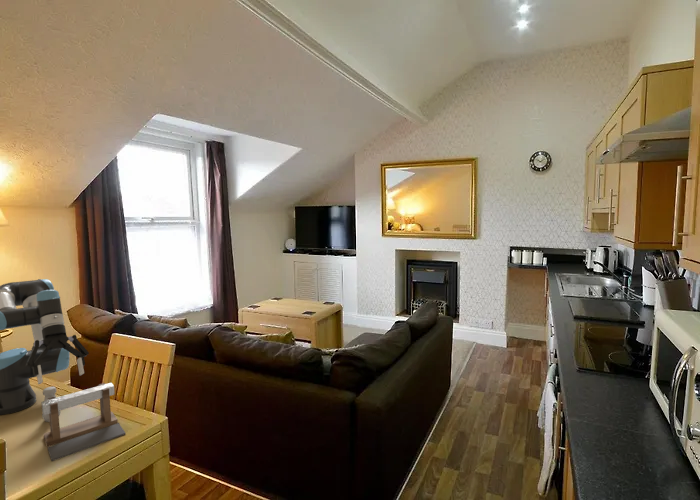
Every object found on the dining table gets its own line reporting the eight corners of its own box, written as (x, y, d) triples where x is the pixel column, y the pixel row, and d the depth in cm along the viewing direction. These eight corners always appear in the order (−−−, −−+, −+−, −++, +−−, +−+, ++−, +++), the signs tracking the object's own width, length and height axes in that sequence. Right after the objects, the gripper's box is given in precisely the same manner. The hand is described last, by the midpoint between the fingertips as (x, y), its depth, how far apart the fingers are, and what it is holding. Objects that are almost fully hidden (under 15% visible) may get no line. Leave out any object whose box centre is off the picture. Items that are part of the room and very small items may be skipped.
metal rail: (42, 411, 140) (41, 401, 139) (111, 390, 155) (111, 382, 155) (43, 415, 137) (42, 405, 137) (114, 394, 152) (114, 385, 152)
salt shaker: (50, 424, 151) (48, 392, 150) (38, 422, 152) (35, 390, 151) (64, 416, 157) (62, 385, 155) (52, 414, 158) (50, 384, 156)
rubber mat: (47, 448, 136) (47, 447, 136) (118, 424, 151) (118, 423, 151) (51, 461, 129) (51, 459, 129) (125, 434, 145) (125, 432, 145)
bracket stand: (43, 437, 143) (40, 399, 141) (112, 415, 158) (109, 380, 156) (47, 447, 137) (43, 408, 135) (117, 422, 152) (115, 387, 150)
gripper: (16, 328, 145) (24, 384, 139) (91, 319, 165) (101, 368, 159) (10, 335, 149) (18, 390, 143) (84, 325, 169) (93, 373, 163)
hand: (62, 378), depth 151 cm, fingers open, 13 cm apart
